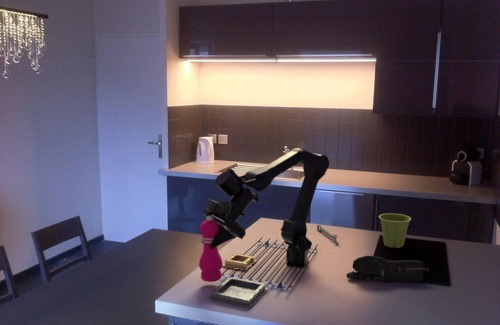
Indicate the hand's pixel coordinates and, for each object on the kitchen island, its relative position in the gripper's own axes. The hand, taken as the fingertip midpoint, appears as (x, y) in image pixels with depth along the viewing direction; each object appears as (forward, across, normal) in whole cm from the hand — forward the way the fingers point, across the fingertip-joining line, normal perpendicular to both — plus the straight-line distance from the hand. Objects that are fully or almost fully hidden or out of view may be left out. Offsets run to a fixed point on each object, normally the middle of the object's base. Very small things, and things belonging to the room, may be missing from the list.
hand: (206, 245), depth 136 cm
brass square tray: (-3, -10, +22) cm, 24 cm away
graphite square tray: (+6, +10, +13) cm, 18 cm away
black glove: (-26, +25, +46) cm, 59 cm away
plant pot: (-45, +5, +65) cm, 79 cm away
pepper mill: (+7, 0, +9) cm, 11 cm away
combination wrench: (-34, -16, +54) cm, 66 cm away
